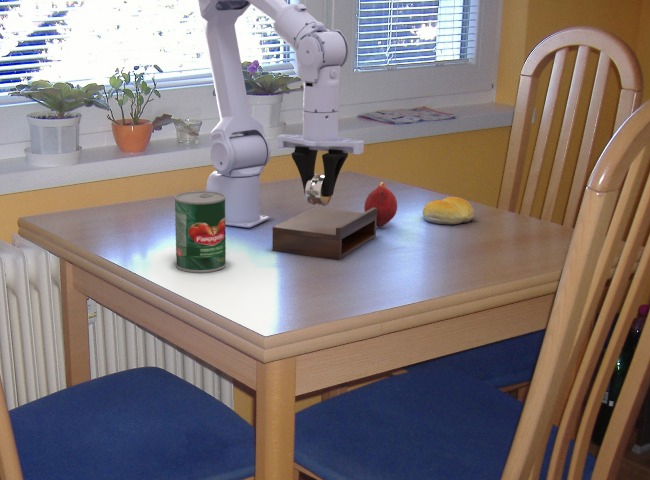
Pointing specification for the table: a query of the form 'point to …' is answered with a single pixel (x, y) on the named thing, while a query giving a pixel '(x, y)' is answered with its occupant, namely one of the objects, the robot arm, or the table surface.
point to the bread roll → (448, 211)
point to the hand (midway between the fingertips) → (318, 194)
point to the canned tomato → (200, 231)
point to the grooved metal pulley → (316, 191)
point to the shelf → (325, 232)
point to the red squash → (382, 204)
